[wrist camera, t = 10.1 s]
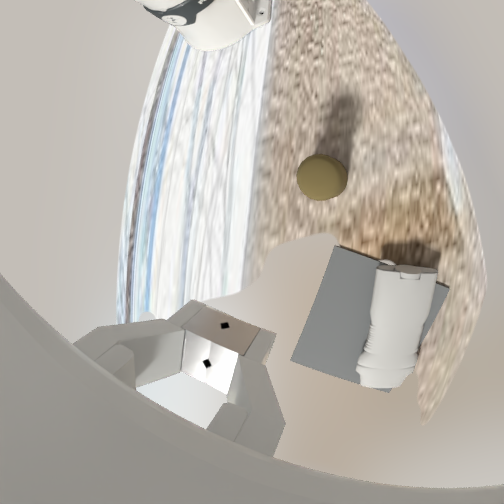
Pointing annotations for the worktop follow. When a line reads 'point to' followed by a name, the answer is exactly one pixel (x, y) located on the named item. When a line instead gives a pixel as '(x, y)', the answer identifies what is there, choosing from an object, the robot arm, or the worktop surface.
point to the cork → (321, 177)
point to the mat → (346, 316)
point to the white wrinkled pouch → (395, 324)
